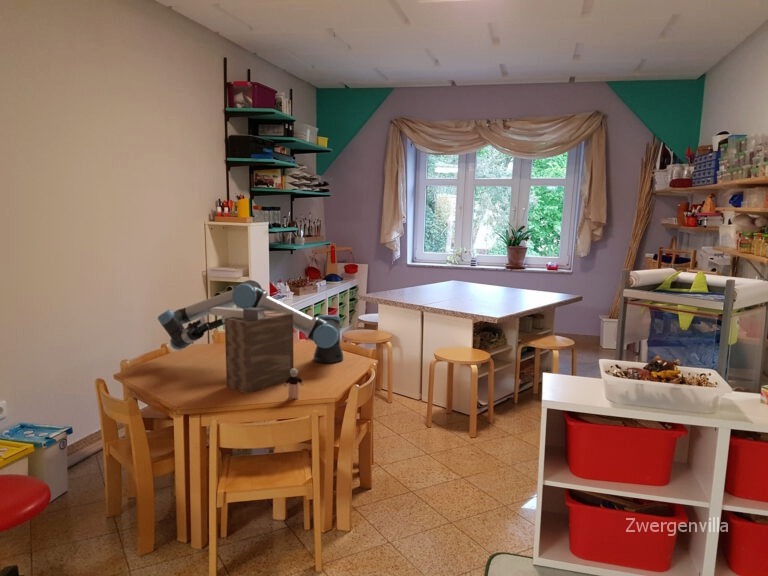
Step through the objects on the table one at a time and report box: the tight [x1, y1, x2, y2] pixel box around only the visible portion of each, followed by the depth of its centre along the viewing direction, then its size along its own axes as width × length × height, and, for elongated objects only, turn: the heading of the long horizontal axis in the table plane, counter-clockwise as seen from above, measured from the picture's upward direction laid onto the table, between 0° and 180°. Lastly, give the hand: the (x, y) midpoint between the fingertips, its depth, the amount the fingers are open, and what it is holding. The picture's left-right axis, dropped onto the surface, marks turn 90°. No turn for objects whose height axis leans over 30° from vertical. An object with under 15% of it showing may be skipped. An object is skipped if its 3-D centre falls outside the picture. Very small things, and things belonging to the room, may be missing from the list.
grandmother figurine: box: [284, 367, 304, 401], centre depth 226 cm, size 8×4×13 cm, turn 114°
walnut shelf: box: [224, 310, 295, 395], centre depth 244 cm, size 14×26×30 cm, turn 143°
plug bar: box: [209, 307, 264, 320], centre depth 240 cm, size 26×5×4 cm, turn 68°
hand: (218, 317), depth 251 cm, fingers open, 13 cm apart
